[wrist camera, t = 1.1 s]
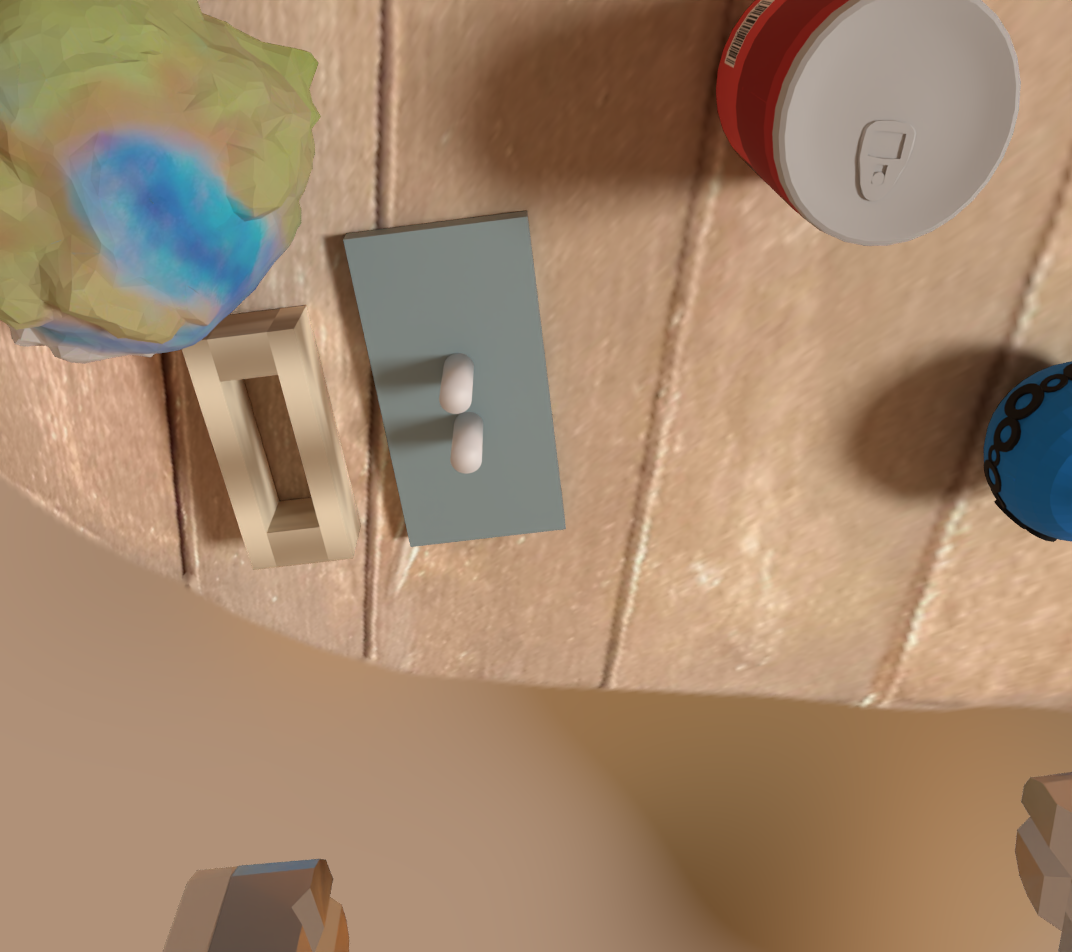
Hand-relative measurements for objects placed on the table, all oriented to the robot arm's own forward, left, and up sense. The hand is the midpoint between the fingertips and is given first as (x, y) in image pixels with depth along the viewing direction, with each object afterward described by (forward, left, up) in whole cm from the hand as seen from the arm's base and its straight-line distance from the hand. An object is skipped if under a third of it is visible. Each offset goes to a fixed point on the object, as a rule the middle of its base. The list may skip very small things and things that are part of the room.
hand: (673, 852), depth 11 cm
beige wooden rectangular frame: (+10, -14, -35) cm, 39 cm away
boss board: (+9, -5, -35) cm, 36 cm away
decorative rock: (-5, -16, -35) cm, 39 cm away
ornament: (+14, +23, -35) cm, 44 cm away
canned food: (-3, +11, -35) cm, 37 cm away
